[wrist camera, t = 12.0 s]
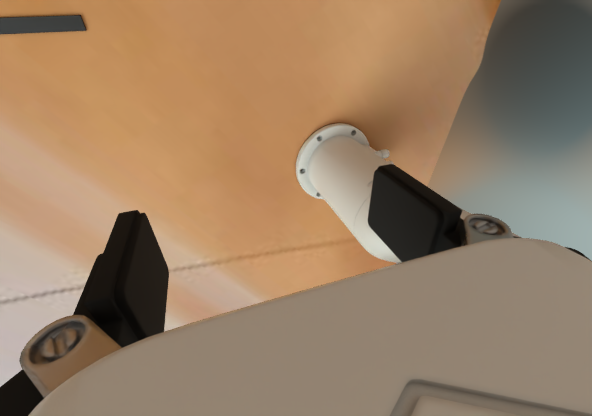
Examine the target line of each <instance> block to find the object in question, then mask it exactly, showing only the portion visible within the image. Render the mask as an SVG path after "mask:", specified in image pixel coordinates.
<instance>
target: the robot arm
mask: <svg viewBox="0 0 592 416" xmlns="http://www.w3.org/2000/svg"><path fill="white" fill-rule="evenodd" d="M318 136H319V137H318ZM317 137H318V138H317ZM388 157H389V150H388V149H383V150H379V151H375V150H374V149H372V148H371V147H370V146H369V143H368V140H367V138H366V137H365V135H364V134H363V133H362V132H361V131H360V130H359V129H357V128H355V127H354V126H352V125H348V124H344V123H336V124H330V125H327V126H325V127H323V128H321V129H319V130H317V131H316V132H315V133H313V134H312V135H311V136H310V137H309V138H308V139H307V140H306V142H305V143H304V144H303V146H302V148H301V149H300V152H299V154H298V157H297V161H296V175H297V179H298V181H299V184H300V185H301V186H302V188H303V189H304V190H305V191H306V192H307V193H308V194H309V195H311V196H313V197H315V198H319V199H325V201H326V202H327V203H328V204H329V206H330V207H331V208H332V209H333V211H334V212H335V213H336V214H337V215H338V217H339V218H340V219H341V220H342V222H343V223H344V224H345V225H346V227H347V228H348V229H349V230H350V231H351V233H352V234H353V235H354V236H355V238H356V239H357V240H358V241H359V243H360V244H361V245H362V246H363V247H364V248H365V249H366V250H367V251H368V252H369V253H370V254H372V255H373V256H375V257H377V258H379V259H382V260H386V261H390V262H396V263H398V264H395V265H391V266H388V267H384V268H380V269H377V270H373V271H370V272H366V273H363V274H359V275H356V276H352V277H349V278H345V279H341V280H338V281H334V282H331V283H327V284H324V285H320V286H317V287H313V288H310V289H306V290H303V291H299V292H296V293H292V294H289V295H286V296H282V297H279V298H275V299H272V300H268V301H265V302H261V303H258V304H254V305H251V306H248V307H244V308H241V309H237V310H234V311H230V312H227V313H223V314H220V315H217V316H213V317H210V318H207V319H203V320H200V321H196V322H193V323H190V324H187V325H184V326H181V327H178V328H175V329H172V330H168V331H165V332H164V324H165V312H166V301H167V289H168V278H169V272H168V267H167V264H166V262H165V259H164V257H163V254H162V252H161V250H160V247H159V245H158V242H157V240H156V237H155V235H154V232H153V230H152V228H151V225H150V223H149V220H148V218H147V216H146V214H145V213H141V214H140V212H139V211H138V210H135V211H129V212H124V213H119V215H118V217H117V219H116V222H115V225H114V227H113V230H112V232H111V235H110V237H109V240H108V242H107V245H106V248H105V250H104V253H103V254H100V255H98V257H97V258H96V261H95V263H94V265H93V268H92V270H91V273H90V275H89V278H88V280H87V282H86V285H85V287H84V290H83V292H82V295H81V297H80V299H79V302H78V304H77V307H76V309H75V312H74V314H73V315H72V316H67V317H64V318H61V319H59V320H56V321H54V322H53V323H51V324H49V325H47V326H46V327H44V328H43V329H42V330H40V331H39V332H38V333H37V334H35V335H34V336H33V337H32V339H31V340H30V341H29V342H28V343H27V344H26V346H25V347H24V349H23V351H22V352H21V356H20V364H21V367H22V369H23V370H21V371H20V372H19V373H18V374H16V375H15V376H14V377H13V378H11V379H10V380H9V381H7V382H6V383H5V384H4V385H2V386H1V387H0V416H592V261H591V260H590V259H588V258H587V257H586V256H585V255H583V254H582V253H581V252H579V251H577V250H575V249H572V248H567V247H563V246H560V245H558V244H555V243H553V242H549V241H543V240H538V239H529V238H521V237H519V236H518V235H516V234H514V233H512V232H511V229H510V228H509V226H508V225H507V224H506V223H504V222H503V221H501V220H499V219H497V218H494V217H492V216H489V215H484V214H470V213H468V212H466V211H465V210H462V209H461V208H459V207H457V206H455V205H454V204H452V203H451V202H449V201H448V200H446V199H445V198H443V197H441V196H440V195H439V194H437V193H436V192H434V191H432V190H431V189H430V188H428V187H427V186H425V185H424V184H422V183H421V182H419V181H418V180H416V179H415V178H413V177H412V176H410V175H409V174H407V173H406V172H404V171H403V170H401V169H400V168H398V167H397V166H395V165H394V163H393V162H392V161H385V160H384V159H383V158H388Z"/></svg>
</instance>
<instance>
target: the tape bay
mask: <svg viewBox="0 0 592 416" xmlns="http://www.w3.org/2000/svg"><path fill="white" fill-rule="evenodd" d="M63 31H86V28H85V26H84V23H83V20H82V18H81V15H75V16H43V17H10V18H0V34H17V33H40V32H63Z"/></svg>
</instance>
